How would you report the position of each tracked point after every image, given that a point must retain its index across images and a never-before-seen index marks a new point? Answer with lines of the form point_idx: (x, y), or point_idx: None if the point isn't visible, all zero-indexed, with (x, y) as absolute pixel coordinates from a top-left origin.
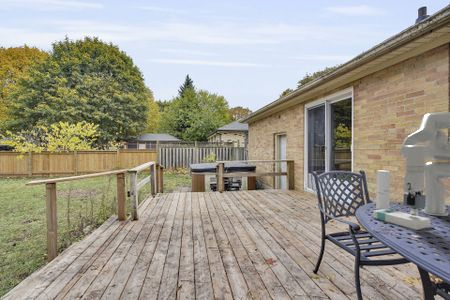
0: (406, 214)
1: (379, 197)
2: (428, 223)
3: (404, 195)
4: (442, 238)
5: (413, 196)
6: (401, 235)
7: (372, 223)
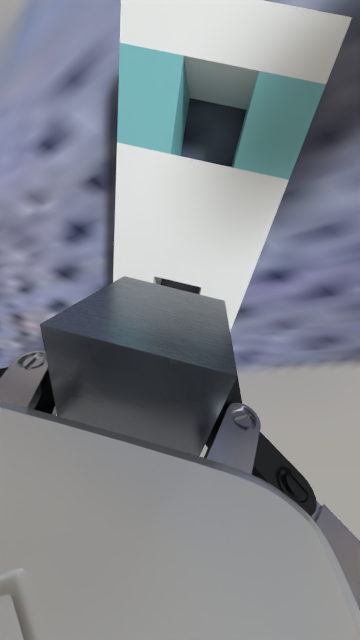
0: (226, 254)
1: None
2: None
3: (60, 323)
4: None
5: (54, 411)
6: (17, 296)
7: (25, 135)
